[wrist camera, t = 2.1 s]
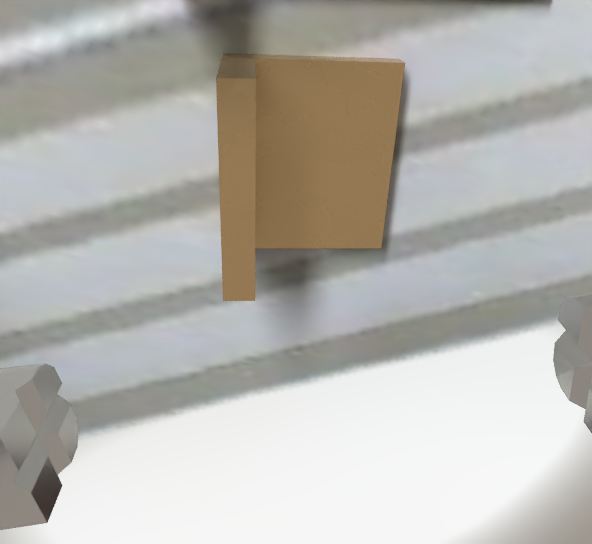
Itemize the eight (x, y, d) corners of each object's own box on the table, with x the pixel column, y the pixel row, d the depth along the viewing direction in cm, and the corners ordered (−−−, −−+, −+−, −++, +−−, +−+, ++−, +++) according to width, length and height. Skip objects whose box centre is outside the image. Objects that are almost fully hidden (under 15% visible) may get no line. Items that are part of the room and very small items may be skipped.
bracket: (227, 236, 32) (223, 300, 26) (223, 53, 27) (216, 77, 21) (375, 237, 32) (405, 299, 26) (397, 58, 28) (440, 83, 22)
